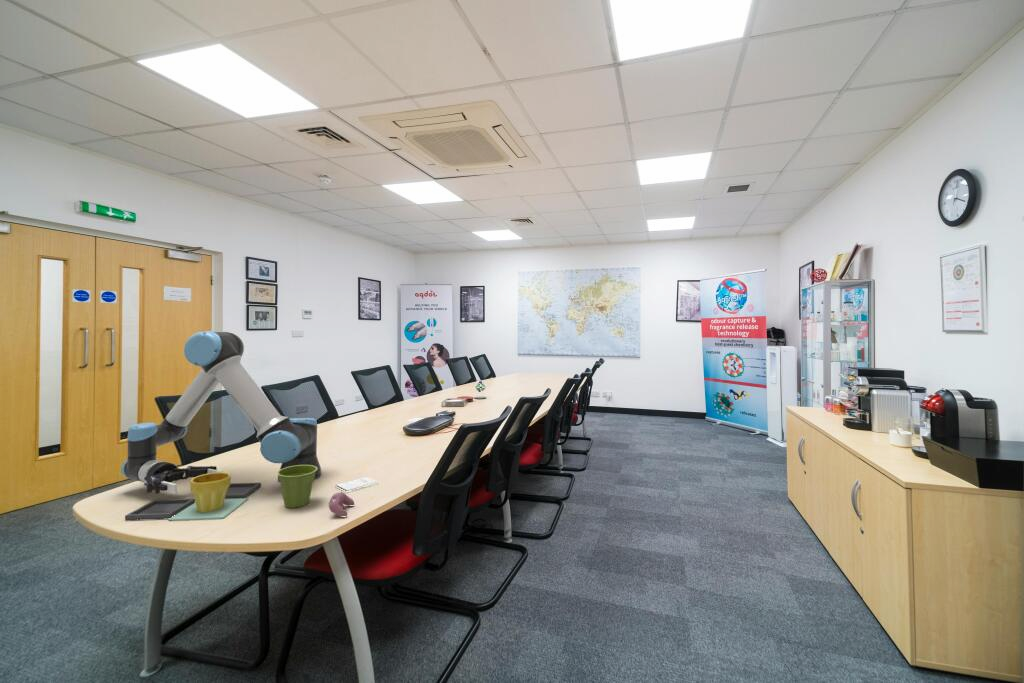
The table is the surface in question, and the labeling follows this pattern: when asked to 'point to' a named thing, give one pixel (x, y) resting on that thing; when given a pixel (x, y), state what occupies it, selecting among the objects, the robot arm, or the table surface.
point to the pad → (221, 513)
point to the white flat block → (356, 483)
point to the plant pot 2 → (297, 484)
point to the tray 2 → (241, 490)
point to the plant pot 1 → (210, 490)
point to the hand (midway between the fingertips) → (199, 482)
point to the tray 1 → (160, 509)
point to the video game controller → (339, 503)
